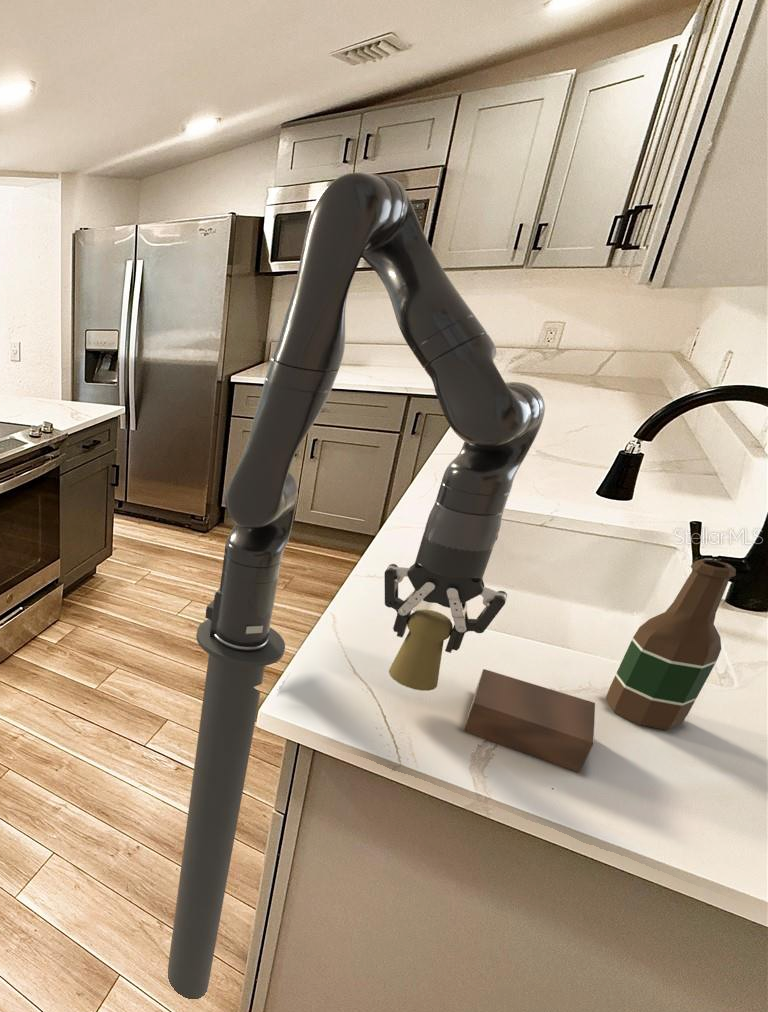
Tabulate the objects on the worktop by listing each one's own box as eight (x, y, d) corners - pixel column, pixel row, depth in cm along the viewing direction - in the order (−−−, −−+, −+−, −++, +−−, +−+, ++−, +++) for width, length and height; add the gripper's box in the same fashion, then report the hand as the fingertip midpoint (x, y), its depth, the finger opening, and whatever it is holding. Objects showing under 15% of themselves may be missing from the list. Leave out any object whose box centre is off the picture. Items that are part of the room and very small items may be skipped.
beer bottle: (679, 740, 83) (764, 584, 73) (600, 712, 88) (669, 564, 78) (683, 712, 87) (763, 562, 77) (607, 688, 93) (673, 545, 83)
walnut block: (463, 731, 86) (473, 702, 84) (473, 695, 93) (483, 668, 91) (579, 773, 78) (593, 743, 76) (581, 731, 85) (595, 702, 83)
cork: (379, 671, 93) (397, 610, 88) (406, 661, 95) (425, 600, 90) (419, 695, 88) (441, 631, 83) (447, 683, 90) (469, 620, 85)
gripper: (389, 531, 84) (361, 635, 91) (526, 561, 74) (483, 674, 81) (401, 515, 88) (374, 614, 95) (531, 541, 79) (490, 649, 86)
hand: (424, 641), depth 88 cm, fingers closed on cork, 5 cm apart
